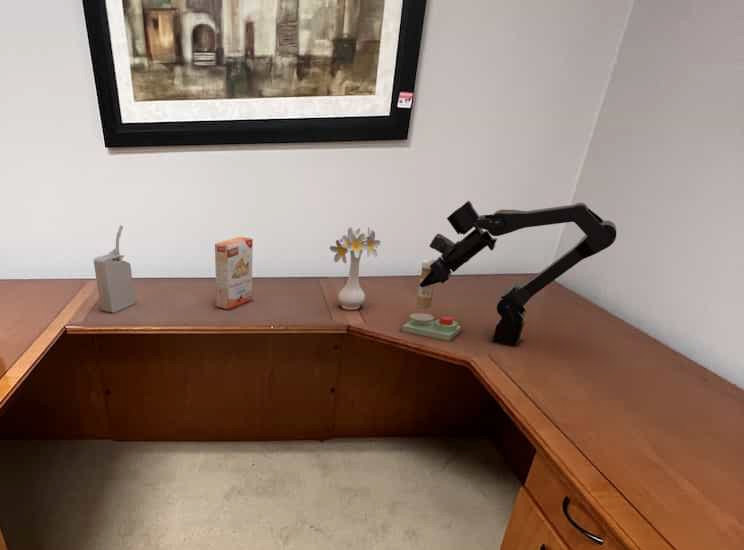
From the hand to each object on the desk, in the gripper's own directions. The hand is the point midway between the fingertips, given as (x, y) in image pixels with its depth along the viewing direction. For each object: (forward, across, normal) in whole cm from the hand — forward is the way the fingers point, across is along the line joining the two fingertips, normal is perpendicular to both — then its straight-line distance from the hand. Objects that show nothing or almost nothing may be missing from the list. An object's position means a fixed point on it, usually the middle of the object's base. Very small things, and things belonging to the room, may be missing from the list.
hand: (422, 284), depth 168 cm
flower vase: (+27, -10, -8) cm, 30 cm away
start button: (+1, +2, +14) cm, 14 cm away
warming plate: (+6, +1, +8) cm, 10 cm away
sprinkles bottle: (+4, 0, +6) cm, 7 cm away
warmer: (+6, +1, +13) cm, 14 cm away
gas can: (+78, +24, -61) cm, 102 cm away
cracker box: (+54, +4, -36) cm, 65 cm away
